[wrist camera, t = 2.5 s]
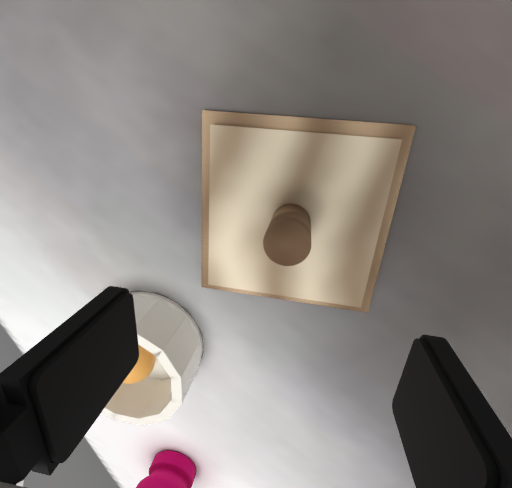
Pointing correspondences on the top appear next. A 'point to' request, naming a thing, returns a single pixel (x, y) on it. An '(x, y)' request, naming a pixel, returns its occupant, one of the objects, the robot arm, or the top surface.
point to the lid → (296, 211)
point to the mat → (316, 127)
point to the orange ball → (141, 367)
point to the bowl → (159, 362)
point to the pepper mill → (169, 471)
